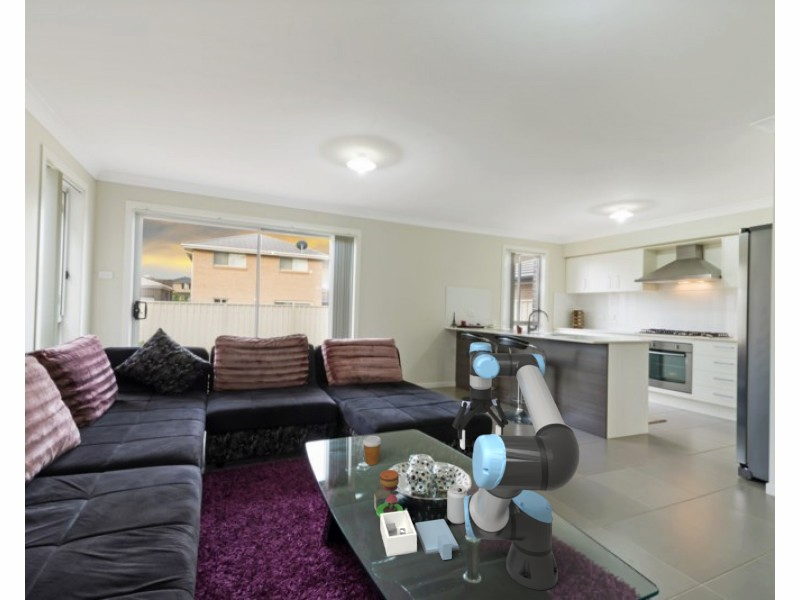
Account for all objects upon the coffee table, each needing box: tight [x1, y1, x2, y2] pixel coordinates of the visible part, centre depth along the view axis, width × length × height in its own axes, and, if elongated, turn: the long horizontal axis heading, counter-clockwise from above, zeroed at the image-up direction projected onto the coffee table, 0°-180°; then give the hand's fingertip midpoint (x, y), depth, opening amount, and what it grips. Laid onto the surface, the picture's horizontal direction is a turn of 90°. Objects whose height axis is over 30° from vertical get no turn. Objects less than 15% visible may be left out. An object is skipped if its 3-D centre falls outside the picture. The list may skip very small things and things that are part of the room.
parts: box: [387, 523, 406, 537], centre depth 132 cm, size 10×6×3 cm, turn 12°
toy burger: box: [373, 469, 404, 518], centre depth 149 cm, size 12×13×15 cm
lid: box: [414, 518, 459, 561], centre depth 131 cm, size 20×11×5 cm, turn 12°
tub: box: [379, 510, 418, 558], centre depth 132 cm, size 14×10×6 cm
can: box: [446, 484, 468, 525], centre depth 144 cm, size 8×8×12 cm
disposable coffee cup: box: [362, 435, 382, 466], centre depth 191 cm, size 10×10×12 cm
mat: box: [413, 522, 461, 556], centre depth 133 cm, size 15×12×1 cm
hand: (480, 446), depth 134 cm, fingers open, 13 cm apart
